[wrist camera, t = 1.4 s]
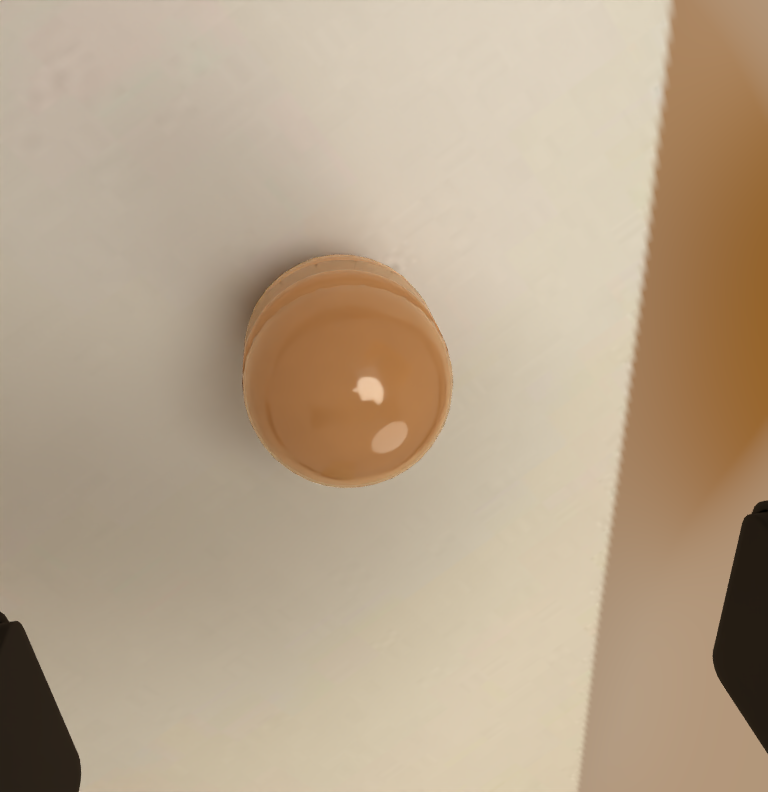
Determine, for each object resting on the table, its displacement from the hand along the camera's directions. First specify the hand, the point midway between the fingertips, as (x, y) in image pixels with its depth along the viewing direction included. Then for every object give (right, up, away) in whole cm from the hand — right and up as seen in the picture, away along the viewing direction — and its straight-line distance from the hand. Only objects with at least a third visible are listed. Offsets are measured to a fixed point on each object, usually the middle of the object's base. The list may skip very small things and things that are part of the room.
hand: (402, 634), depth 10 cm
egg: (-1, +5, +8) cm, 10 cm away
